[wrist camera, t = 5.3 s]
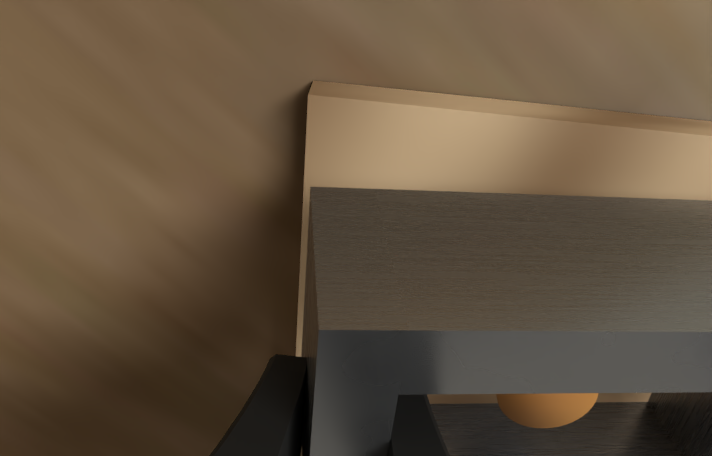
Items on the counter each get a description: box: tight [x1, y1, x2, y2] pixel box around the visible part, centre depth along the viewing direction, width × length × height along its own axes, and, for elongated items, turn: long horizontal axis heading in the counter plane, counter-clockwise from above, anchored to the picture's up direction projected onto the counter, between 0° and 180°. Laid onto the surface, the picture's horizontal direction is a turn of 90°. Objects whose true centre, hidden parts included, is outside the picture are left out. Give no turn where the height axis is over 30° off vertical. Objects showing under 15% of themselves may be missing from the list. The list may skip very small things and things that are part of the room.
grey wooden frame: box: [300, 187, 712, 456], centre depth 12 cm, size 10×7×4 cm
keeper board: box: [296, 80, 712, 428], centre depth 14 cm, size 11×9×4 cm
